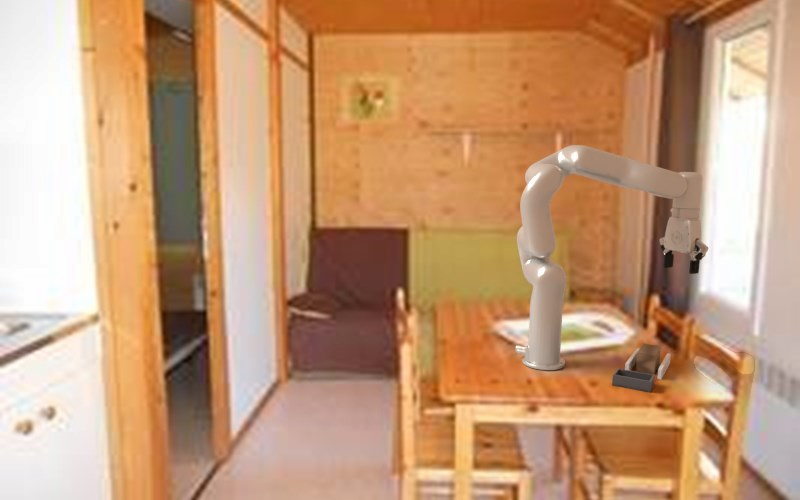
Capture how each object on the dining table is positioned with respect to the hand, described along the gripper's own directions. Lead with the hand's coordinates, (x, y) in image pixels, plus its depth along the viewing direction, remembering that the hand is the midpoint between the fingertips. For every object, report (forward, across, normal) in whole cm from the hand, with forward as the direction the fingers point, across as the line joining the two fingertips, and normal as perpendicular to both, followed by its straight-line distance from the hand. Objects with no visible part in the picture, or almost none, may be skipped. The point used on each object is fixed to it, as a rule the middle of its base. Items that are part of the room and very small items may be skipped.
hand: (680, 270), depth 198 cm
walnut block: (+28, +3, -13) cm, 31 cm away
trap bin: (+28, +11, -27) cm, 41 cm away
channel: (+28, +3, -13) cm, 31 cm away
